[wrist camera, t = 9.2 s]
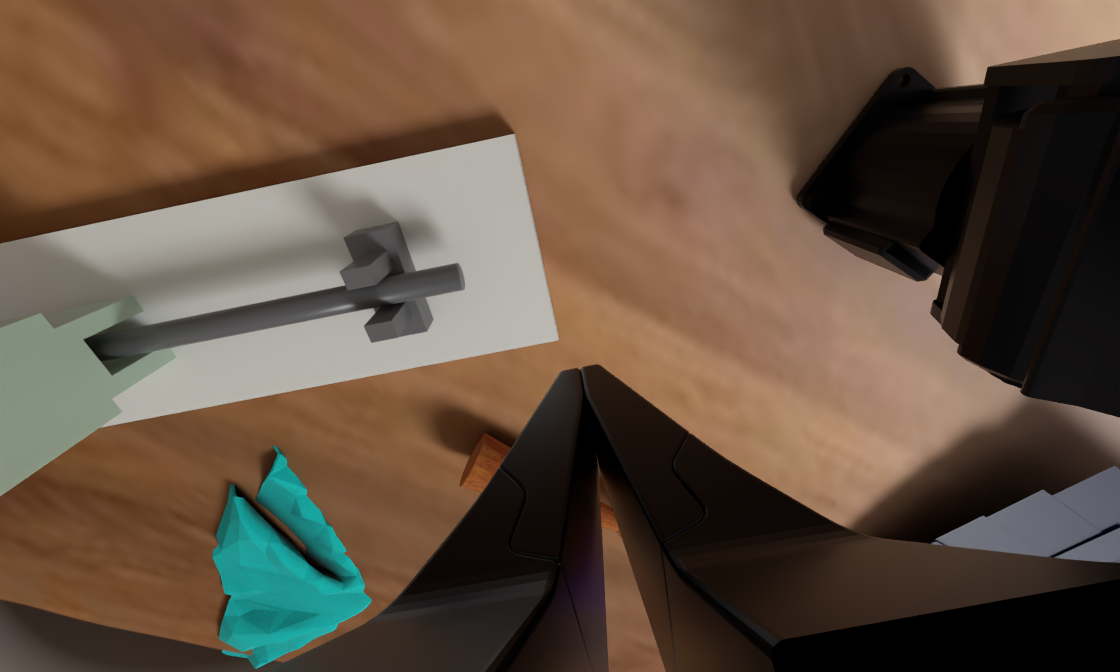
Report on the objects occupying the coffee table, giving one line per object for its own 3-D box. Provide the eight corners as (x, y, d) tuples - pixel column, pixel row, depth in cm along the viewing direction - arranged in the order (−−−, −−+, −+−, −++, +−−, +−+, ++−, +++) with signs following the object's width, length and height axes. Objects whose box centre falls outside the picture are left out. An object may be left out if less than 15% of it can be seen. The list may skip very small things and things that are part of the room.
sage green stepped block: (123, 281, 19) (-209, 406, 11) (184, 368, 21) (-51, 530, 13) (43, 298, 20) (-346, 433, 11) (111, 383, 22) (-168, 552, 13)
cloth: (320, 674, 39) (307, 705, 37) (154, 634, 35) (131, 666, 33) (442, 497, 29) (435, 525, 27) (234, 417, 25) (208, 442, 23)
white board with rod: (515, 133, 19) (508, 135, 14) (557, 331, 23) (561, 376, 19) (-103, 265, 20) (-270, 301, 16) (51, 428, 24) (-47, 490, 20)
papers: (1218, 542, 33) (1285, 592, 30) (878, 672, 47) (900, 714, 44) (1051, 418, 26) (1116, 465, 23) (714, 613, 40) (726, 658, 37)
